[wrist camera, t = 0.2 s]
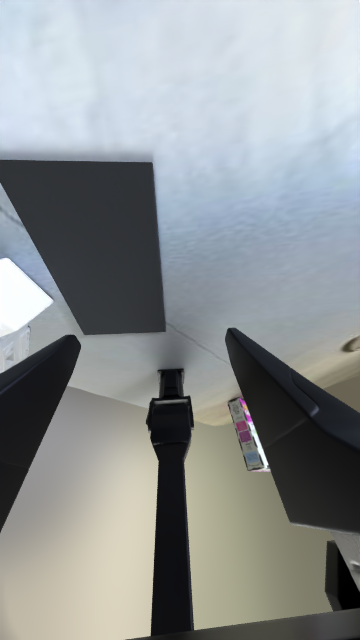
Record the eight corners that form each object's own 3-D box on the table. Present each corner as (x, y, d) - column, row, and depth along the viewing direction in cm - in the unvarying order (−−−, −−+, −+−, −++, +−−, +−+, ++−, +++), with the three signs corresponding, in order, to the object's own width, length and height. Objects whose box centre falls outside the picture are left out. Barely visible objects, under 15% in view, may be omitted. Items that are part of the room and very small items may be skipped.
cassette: (29, 359, 30) (-6, 396, 24) (18, 356, 30) (-21, 394, 24) (31, 320, 25) (-14, 357, 19) (18, 316, 24) (-34, 352, 18)
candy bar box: (226, 402, 49) (246, 471, 36) (238, 396, 47) (265, 468, 34) (243, 410, 54) (267, 473, 41) (255, 405, 52) (284, 470, 39)
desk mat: (165, 329, 28) (165, 331, 27) (85, 332, 27) (84, 335, 26) (152, 164, 14) (152, 162, 14) (-7, 161, 14) (-13, 159, 13)
